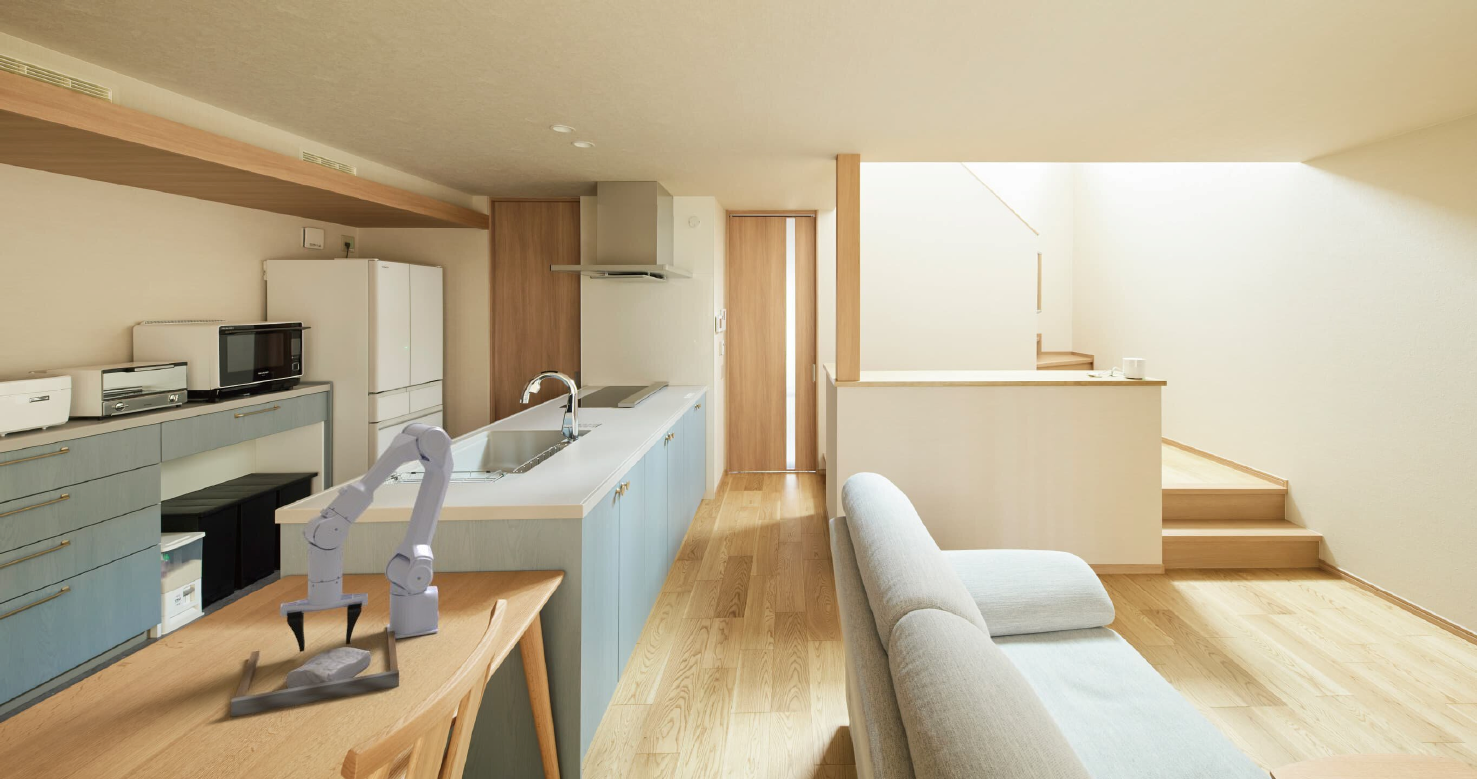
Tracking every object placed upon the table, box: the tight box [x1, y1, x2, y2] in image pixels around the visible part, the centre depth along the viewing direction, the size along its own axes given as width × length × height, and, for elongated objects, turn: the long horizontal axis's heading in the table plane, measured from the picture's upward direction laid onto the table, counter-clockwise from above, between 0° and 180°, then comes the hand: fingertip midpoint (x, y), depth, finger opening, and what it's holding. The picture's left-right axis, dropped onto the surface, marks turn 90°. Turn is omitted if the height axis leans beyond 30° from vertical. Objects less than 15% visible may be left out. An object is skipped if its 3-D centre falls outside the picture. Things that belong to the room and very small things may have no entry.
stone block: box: [285, 646, 372, 689], centre depth 125 cm, size 12×5×10 cm
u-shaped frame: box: [230, 631, 400, 718], centre depth 126 cm, size 24×23×2 cm
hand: (325, 645), depth 133 cm, fingers open, 7 cm apart
